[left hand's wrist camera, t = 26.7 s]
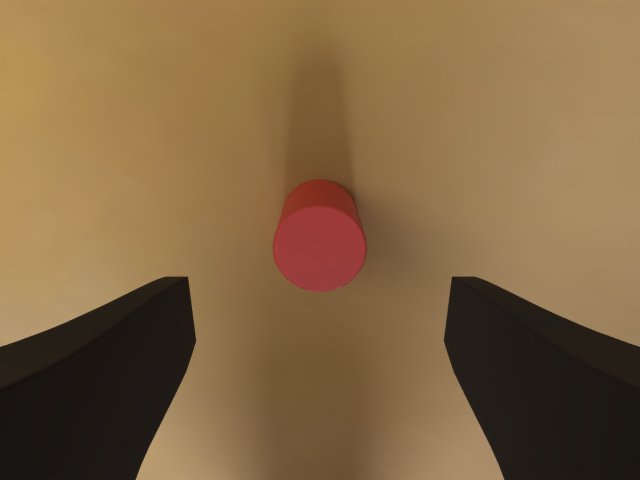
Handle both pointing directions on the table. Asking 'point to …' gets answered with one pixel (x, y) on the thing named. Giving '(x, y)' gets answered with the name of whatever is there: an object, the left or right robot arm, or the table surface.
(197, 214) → the table surface
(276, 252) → the canister
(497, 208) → the table surface
